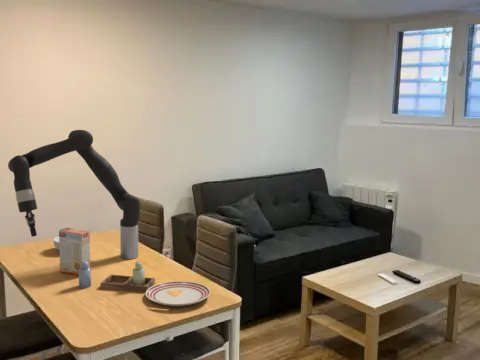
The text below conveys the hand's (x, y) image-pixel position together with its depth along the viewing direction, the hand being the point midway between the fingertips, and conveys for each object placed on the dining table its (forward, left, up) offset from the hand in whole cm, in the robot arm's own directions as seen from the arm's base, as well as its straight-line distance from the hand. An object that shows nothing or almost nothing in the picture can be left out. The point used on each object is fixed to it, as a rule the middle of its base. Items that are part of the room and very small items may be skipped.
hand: (34, 236), depth 225 cm
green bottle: (-4, +47, -21) cm, 51 cm away
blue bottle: (-1, +23, -22) cm, 31 cm away
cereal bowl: (-48, -8, -22) cm, 54 cm away
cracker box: (-16, +11, -22) cm, 29 cm away
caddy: (-4, +42, -22) cm, 47 cm away
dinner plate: (+3, +67, -22) cm, 70 cm away
